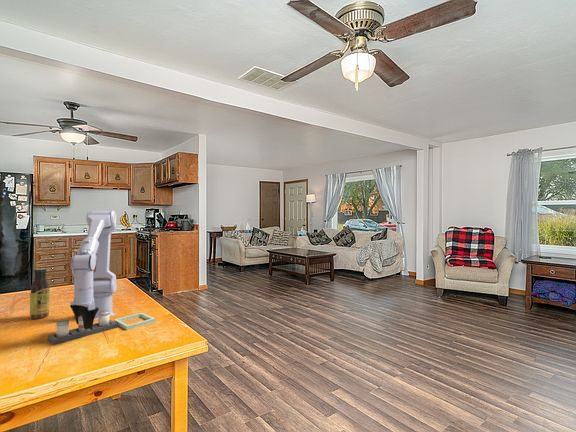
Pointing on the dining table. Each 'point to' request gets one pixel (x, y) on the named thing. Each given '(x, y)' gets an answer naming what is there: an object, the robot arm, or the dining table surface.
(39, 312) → the sauce bottle
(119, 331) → the dining table surface
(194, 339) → the dining table surface
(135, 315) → the tray
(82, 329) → the fuse marked
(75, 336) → the fuse block
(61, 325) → the fuse
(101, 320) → the fuse
